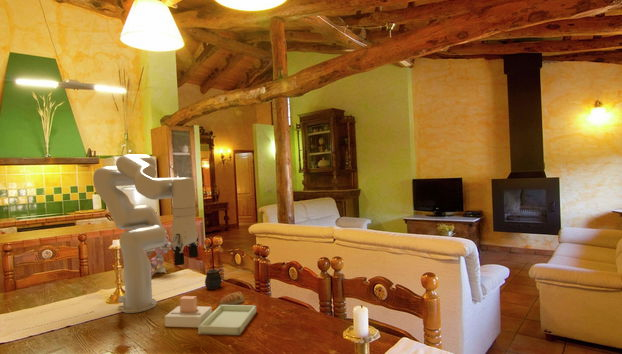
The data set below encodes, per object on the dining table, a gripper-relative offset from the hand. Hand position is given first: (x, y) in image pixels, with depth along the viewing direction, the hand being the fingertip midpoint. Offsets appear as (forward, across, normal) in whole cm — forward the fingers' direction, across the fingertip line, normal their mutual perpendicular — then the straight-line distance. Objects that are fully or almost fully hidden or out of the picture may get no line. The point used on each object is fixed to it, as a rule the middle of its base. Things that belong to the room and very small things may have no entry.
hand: (186, 260), depth 122 cm
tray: (+22, 0, +15) cm, 26 cm away
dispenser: (+22, 0, 0) cm, 22 cm away
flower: (+22, -50, -47) cm, 72 cm away
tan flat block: (+21, 0, 0) cm, 21 cm away
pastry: (+22, -18, +9) cm, 30 cm away
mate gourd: (+22, -34, -6) cm, 41 cm away
